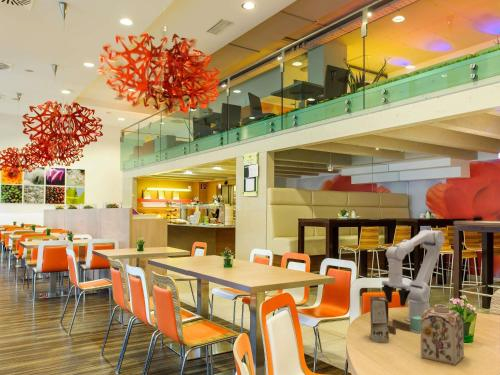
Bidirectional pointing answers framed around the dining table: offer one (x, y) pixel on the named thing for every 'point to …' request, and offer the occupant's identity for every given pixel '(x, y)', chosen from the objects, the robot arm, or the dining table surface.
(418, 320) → the block
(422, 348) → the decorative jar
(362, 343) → the dining table surface
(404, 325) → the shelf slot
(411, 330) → the mat
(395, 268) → the robot arm
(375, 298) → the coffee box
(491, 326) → the dining table surface
